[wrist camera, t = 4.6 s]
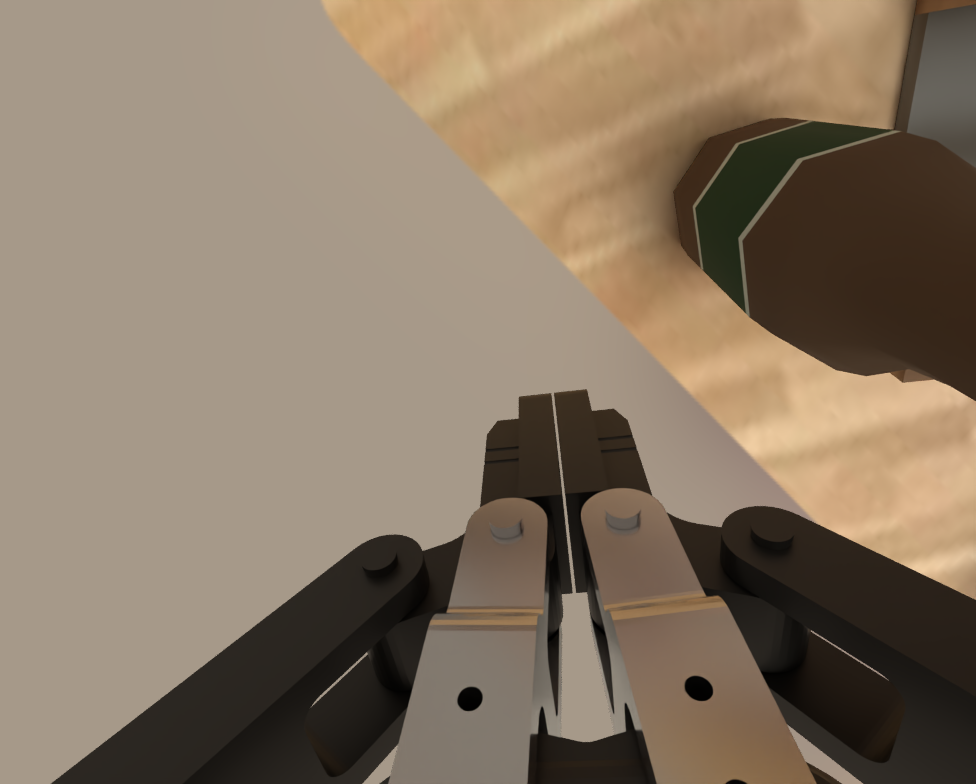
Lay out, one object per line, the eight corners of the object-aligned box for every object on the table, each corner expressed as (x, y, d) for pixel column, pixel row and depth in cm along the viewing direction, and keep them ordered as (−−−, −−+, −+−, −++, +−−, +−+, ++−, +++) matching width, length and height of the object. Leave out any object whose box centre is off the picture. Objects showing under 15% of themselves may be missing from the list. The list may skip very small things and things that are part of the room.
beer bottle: (639, 187, 29) (937, 439, 8) (779, 78, 27) (1743, 43, 6) (713, 298, 32) (1083, 703, 11) (847, 209, 29) (1679, 518, 8)
